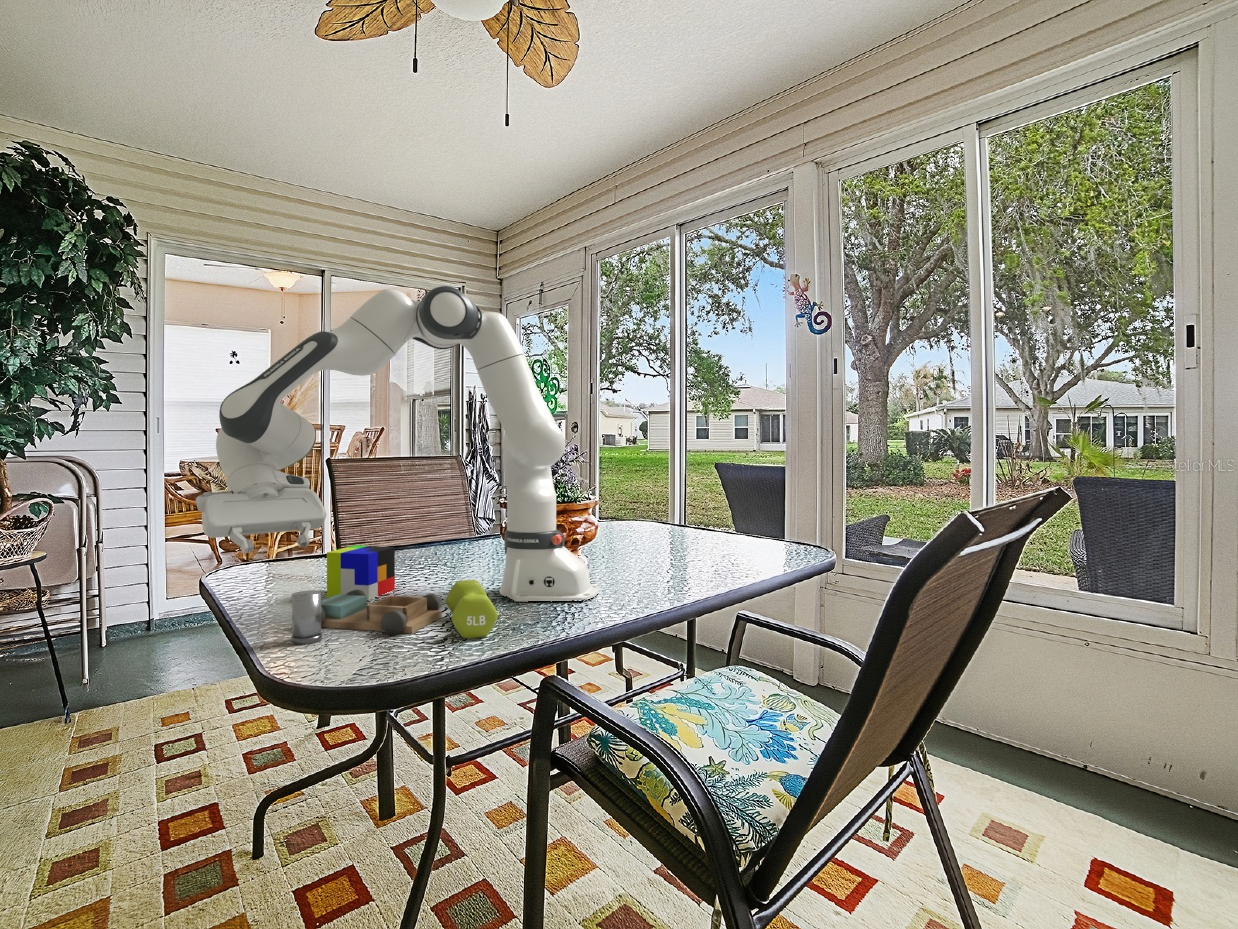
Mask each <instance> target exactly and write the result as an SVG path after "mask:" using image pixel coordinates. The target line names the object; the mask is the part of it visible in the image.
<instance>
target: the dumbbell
mask: <svg viewBox="0 0 1238 929" xmlns="http://www.w3.org/2000/svg"><path fill="white" fill-rule="evenodd" d="M445 603H446V605H447V607H448V609H449V611H450V612H451V622H452V625H454V627H455V629H456V630H457V632H458V633H459V635H460V636H461V638H463V639H479V638H485V637H488V636H489V634H490V632H492V630H493V629H494V626H495V625H496V622H497V620H498V618H499V613H498V611H497V609H496V607H495V606H494V603H493V602H492V600H490V598H489V596H488V595H487V592H486V591H485V589H484V587H483V586H482V584H481V583H480V582H479V581H478V580H477V579H476V580H475V579H466V580H458V581H455V583H454V584H453V585H452V587H451V588H450V590H449V591H448V594H447V596H446V598H445Z"/></svg>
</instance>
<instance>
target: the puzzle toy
mask: <svg viewBox="0 0 1238 929" xmlns="http://www.w3.org/2000/svg"><path fill="white" fill-rule="evenodd" d="M395 550H396V547H395V546H379V545H377V546H375V545H351V546H346V547H344V548H338V549H334V550H330V551H327V552H326V599H328V598H330V597H333V596H336V595H339V594H341V595H346V594H347V593H348V592H350V591H353V590H356V589H358V590H361V591H363V592H364V593H365V595H366V596H367V600H369V601H371V600H370V599H372V600H374V599H376V598H375V597H377V596H379V597H381V596H380V595H382V594H384V595H386V594H385V593H387V592H390V591H392V590H394V589H395V588H396V582H395V581H396V580H395V579H396V578H395V577H396V574H395V573H396V572H395V570H396V564H395V563H396V562H395V561H396V558H395V557H396V556H395V554H396V552H395ZM395 590H396V589H395ZM392 592H393V591H392ZM390 593H391V592H390ZM387 594H388V593H387ZM382 596H383V595H382ZM373 598H374V599H373ZM377 598H378V597H377Z"/></svg>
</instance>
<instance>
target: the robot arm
mask: <svg viewBox="0 0 1238 929" xmlns="http://www.w3.org/2000/svg"><path fill="white" fill-rule="evenodd" d="M411 339H412V340H414V341H417V342H419V343H422V344H424V345H426V346H428V347H429V348H432V349H437V350H448V349H452V348H454V347H456V346H457V345H458V344H459V345H461V346H462V347H463V348H465V349H466V350H467V352H468V353H469V355H470V356H471V358H472V360H473V364H474V367H475V369H476V372H477V375H478V377H479V379H480V382H481V385H482V387H483V390H484V392H485V396H486V397H487V400H488V403H489V405H490V407H491V408H492V409H493V412H494V413H495V415H496V416H497V418H498V420H499V422H500V424H501V426H502V429H503V430H504V432H505V434H504V435H503V438H502V455H503V456H502V458H503V467H504V468H503V469H504V478H505V479H504V480H505V487H506V530H505V531H504V554H505V563H504V571H503V577H502V580H501V584H500V588H499V592H500V593H499V592H498V593H499V594H500V595H501V596H504V597H506V596H507V597H506V598H509V599H510V600H511V599H513V600H514V601H513V600H512V601H513V602H528V601H551V602H552V601H572V600H583V599H588V598H590V597H592V596H594V595H595V594H596V593H597V592H598V591H599V590H600V587H599V585H598V584H594V583H591V579H590V573H589V572H590V571H589V568H588V566H587V564H586V563H585V562H584V561H583V560H582V559H580V558H579V557H578V556H577V555H575V554H574V553H573V552H572V551H570V550H569V549H568V548H567V547H565V539H566V535H567V533H566V532H563V533H562V532H561V531H560V530H558V528H557V493H556V489H555V485H554V481H553V475H552V474H553V473H552V466H553V465H555V464H556V463H558V461H559V460H560V459H561V458H562V457H563V455H564V453H565V449H566V439H565V435H564V433H563V432H562V430H561V428H560V427H559V426H558V424H557V423H556V420H555V418H554V416H553V415H552V413H551V410H550V409H549V407H548V405H547V403H546V402H545V399H544V398H543V396H542V394H541V392H540V391H539V389H538V386H537V384H536V381H535V379H534V378H535V377H534V375H533V374H532V370H531V367H530V366H529V363H528V360H527V358H526V355H525V352H524V350H523V347H522V345H521V342H520V340H519V339H518V336H517V334H516V332H515V330H514V329H513V327H512V325H511V323H510V322H509V320H508V318H507V317H506V316H504V315H503V314H502V313H500V312H495V311H485V312H482V309H481V308H480V307H479V306H477V305H476V303H474V301H472V300H471V299H470V298H469V297H468V296H466V294H465V293H464V292H462V291H461V290H459V289H457V288H455V287H453V286H448V285H442V286H441V285H439V286H437V287H434V288H432V289H430V290H428V291H427V292H426V293H424V296H422V298H421V300H414V299H412V298H411V297H409V296H408V295H407V294H406V293H404V292H402V291H400V290H398V289H394V288H384V289H381V290H380V291H379V292H376V294H374V295H373V296H372V297H371V298H369V299H367V301H366V302H364V303H363V304H362V305H361V306H360V307H358V309H356V310H355V312H354V313H352V315H351V316H350V317H349V318H348V319H347V320H346V321H344V322H343V323H342V324H341V325H339V326H337V327H336V328H334V329H332V330H330V331H323V330H322V331H319V332H316V333H313V334H312V335H309V337H307V338H305V339H304V340H302V341H301V342H300V343H298V344H297V345H296V346H294V347H293V348H292V349H291V350H289V351H288V352H287V353H286V354H285V355H283V356H282V357H281V358H279V359H278V360H277V361H276V362H274V363H273V364H272V365H270V366H269V367H268V368H267V369H266V370H264V371H263V372H261V373H260V374H259V375H258V376H257V377H255V378H254V379H253V380H251V381H249V382H247V383H246V384H244V385H243V386H240V387H239V388H237V389H235V390H234V391H232V392H230V393H229V394H228V395H227V396H225V397H224V399H223V400H222V402H221V404H220V407H219V412H218V413H219V414H218V415H219V416H218V418H219V423H220V427H221V428H220V429H219V430H218V432H217V435H216V440H215V450H216V454H217V459H218V462H219V466H220V469H221V472H222V473H223V474H224V475H225V477H226V478H225V479H226V481H225V482H226V486H227V489H228V491H226V490H224V491H213V492H212V491H206V492H203V494H200V495H198V496H197V497H196V498H195V502H194V503H195V504H196V508H197V510H198V511H199V512H200V513H201V525H202V531H203V533H204V535H205V536H206V537H208V538H211V539H213V538H226V537H227V538H228V537H229V539H230V541H232V542H233V543H234V544H235V545H237V546H238V547H240V550H241V553H242V554H248V553H249V554H250V553H253V552H254V550H255V544H254V541H253V539H250V538H249V539H247V538H246V537H245V536H251V535H262V534H272V533H285V532H296V531H298V532H299V535H298V537H297V540H296V542H297V544H298V547H299V548H305V547H309V545H310V543H311V542H310V537H309V536H308V535H309V533H310V530H318V529H320V528H321V527H322V526H323V524H324V523H325V521H326V518H327V511H326V509H325V507H324V504H323V503H322V500H321V499H320V497H319V496H318V494H317V493H316V491H315V490H312V489H311V488H310V485H311V484H310V483H311V482H310V479H308V478H307V477H304V476H298V475H295V474H289V473H286V472H283V471H281V470H284V469H286V468H289V467H291V466H293V465H295V464H296V463H298V462H299V461H302V460H303V459H305V458H307V457H308V456H309V454H311V452H312V451H313V449H314V448H315V444H316V440H317V431H316V428H315V426H314V424H312V422H310V421H308V420H307V419H306V418H304V416H302V415H300V414H299V413H298V412H296V411H294V410H292V409H290V408H289V407H288V406H286V405H284V404H283V403H281V402H282V401H283V399H284V398H286V396H288V395H289V394H290V393H292V392H293V391H294V390H295V389H296V388H298V386H300V385H301V384H302V383H304V382H305V381H306V380H307V379H308V378H310V377H311V376H312V375H314V374H316V373H318V372H321V371H329V370H330V371H336V372H337V371H338V372H341V373H344V374H348V375H351V376H361V377H363V376H371V375H374V374H376V373H378V372H379V371H381V370H382V369H383V368H385V367H386V366H387V364H388V363H389V362H390V361H391V360H392V359H393V357H395V355H396V354H397V353H398V352H399V351H400V349H401V348H402V347H403V346H404V345H405V344H406V343H407V342H409V341H410V340H411ZM551 602H550V603H551ZM552 603H553V602H552Z"/></svg>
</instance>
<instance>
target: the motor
mask: <svg viewBox="0 0 1238 929" xmlns="http://www.w3.org/2000/svg"><path fill="white" fill-rule="evenodd" d="M321 601H322V591H320V590H315V589H314V590H302V591H301V590H300V591H297V592H293V593H292V594H291V636H290V638H291V639H290V640H291V641H290V642H291V644H292V643H293V644H292V645H294V644H295V645H294V646H306V644H307V646H308V645H313V644H317V643H319V642H321V641H322V640H323V632H322V627H321Z"/></svg>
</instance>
